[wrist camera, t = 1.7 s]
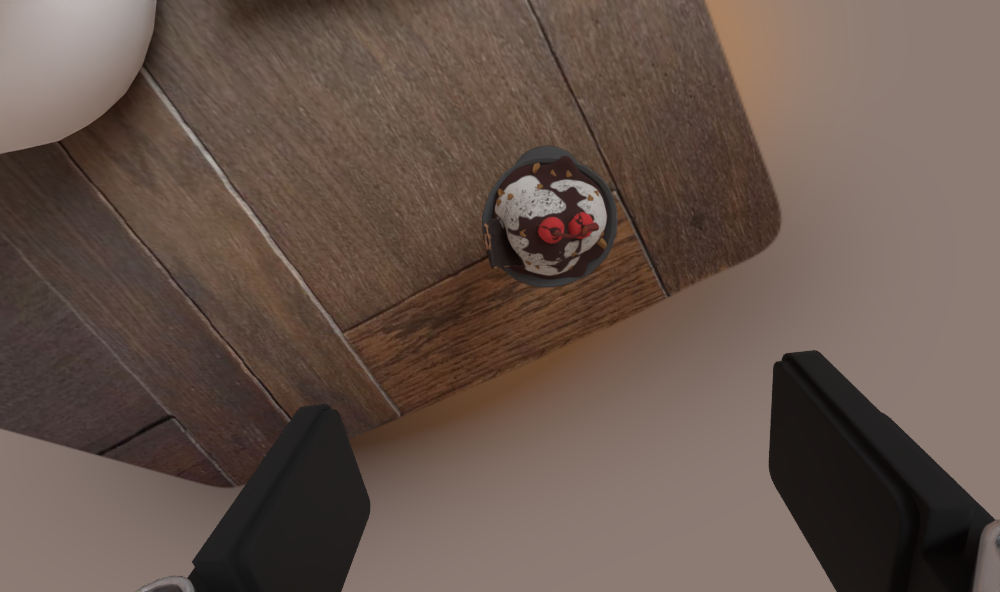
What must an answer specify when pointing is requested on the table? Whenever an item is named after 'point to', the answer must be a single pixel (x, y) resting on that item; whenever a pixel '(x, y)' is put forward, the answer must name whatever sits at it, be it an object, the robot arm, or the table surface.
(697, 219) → the table surface
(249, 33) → the table surface
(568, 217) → the sundae
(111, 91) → the pot
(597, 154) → the table surface
